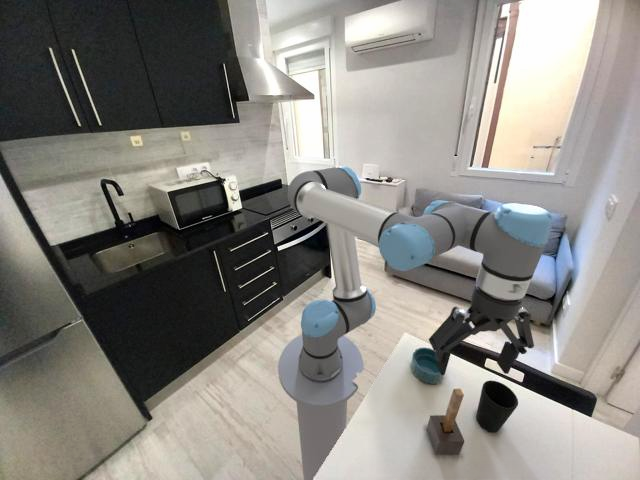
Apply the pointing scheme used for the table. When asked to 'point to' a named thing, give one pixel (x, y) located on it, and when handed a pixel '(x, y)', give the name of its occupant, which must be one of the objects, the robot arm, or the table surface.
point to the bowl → (426, 366)
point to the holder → (444, 437)
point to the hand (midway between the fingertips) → (471, 368)
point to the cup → (495, 406)
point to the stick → (452, 410)
